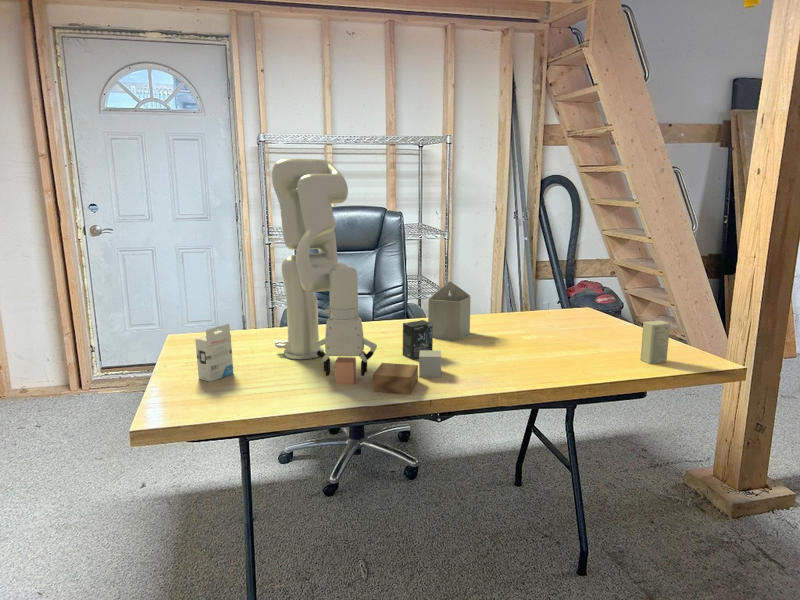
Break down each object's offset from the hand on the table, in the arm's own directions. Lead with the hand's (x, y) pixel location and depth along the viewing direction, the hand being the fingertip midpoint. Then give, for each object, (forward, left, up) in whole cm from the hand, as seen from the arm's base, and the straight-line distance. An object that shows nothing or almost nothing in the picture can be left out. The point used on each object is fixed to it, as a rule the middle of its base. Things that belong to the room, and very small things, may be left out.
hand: (345, 374), depth 154 cm
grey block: (+23, +7, -2) cm, 24 cm away
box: (+19, +24, -2) cm, 31 cm away
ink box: (-37, +2, -2) cm, 37 cm away
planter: (+31, +46, -2) cm, 56 cm away
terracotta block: (0, 0, -2) cm, 2 cm away
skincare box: (+90, +21, -2) cm, 92 cm away
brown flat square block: (+14, -4, -2) cm, 15 cm away
